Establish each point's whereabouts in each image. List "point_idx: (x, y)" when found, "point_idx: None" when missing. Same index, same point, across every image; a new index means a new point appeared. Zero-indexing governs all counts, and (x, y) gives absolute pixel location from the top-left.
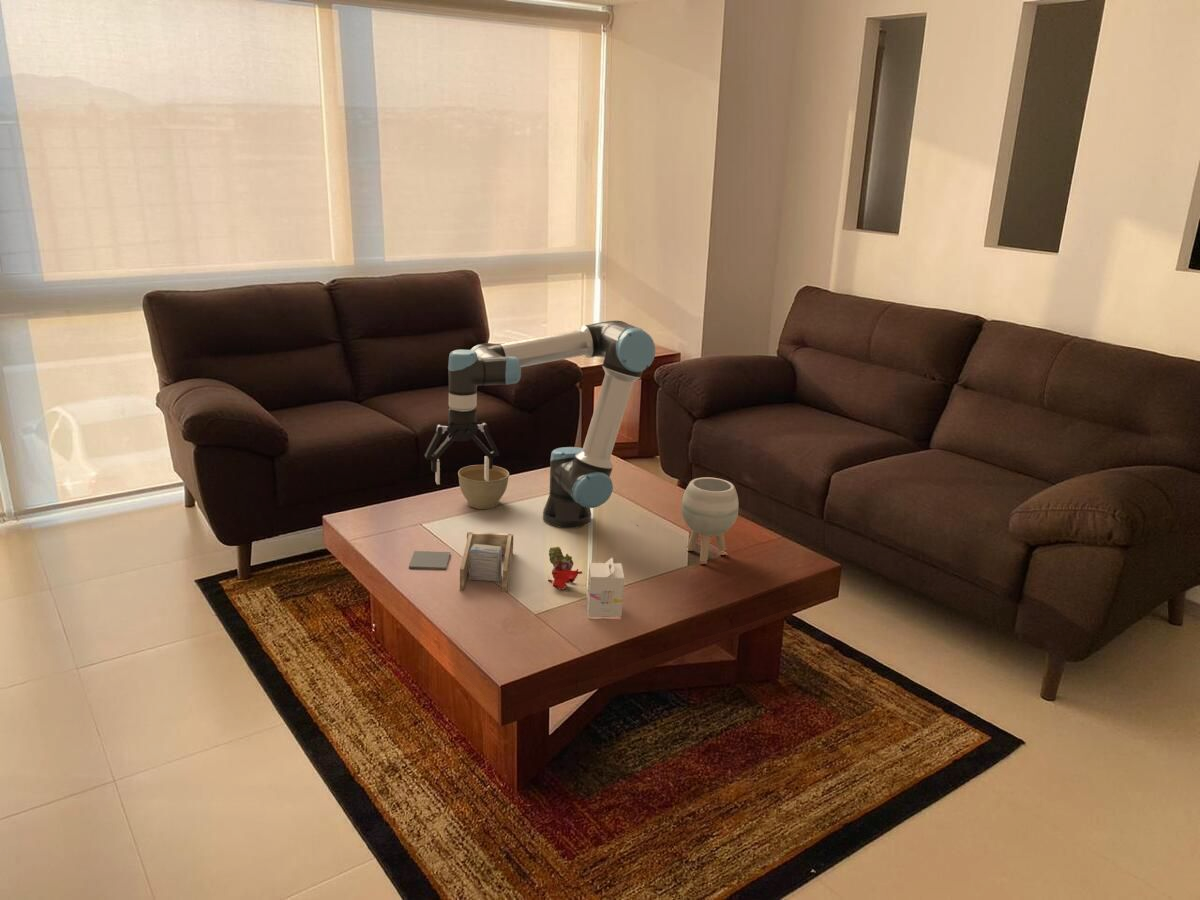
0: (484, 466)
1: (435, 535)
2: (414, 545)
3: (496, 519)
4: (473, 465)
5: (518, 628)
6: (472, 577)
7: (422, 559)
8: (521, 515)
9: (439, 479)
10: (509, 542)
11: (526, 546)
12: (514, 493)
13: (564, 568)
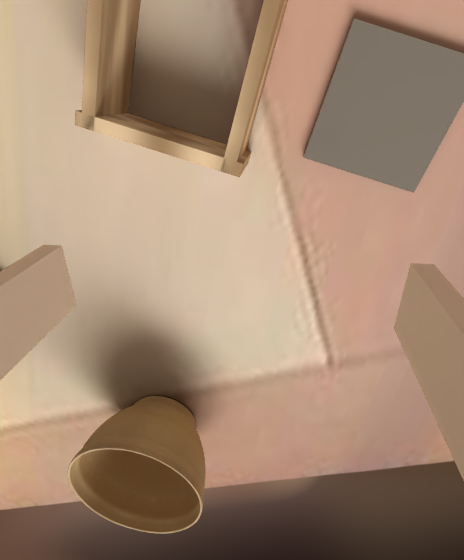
0: (17, 355)
1: (311, 293)
2: (391, 244)
3: (140, 343)
4: (156, 532)
5: None
6: None
7: (412, 115)
8: (81, 348)
9: (428, 282)
10: (89, 32)
11: (70, 163)
12: None
13: None
